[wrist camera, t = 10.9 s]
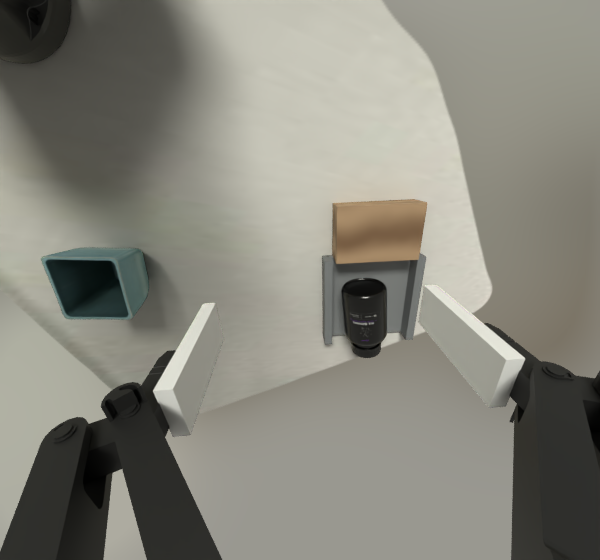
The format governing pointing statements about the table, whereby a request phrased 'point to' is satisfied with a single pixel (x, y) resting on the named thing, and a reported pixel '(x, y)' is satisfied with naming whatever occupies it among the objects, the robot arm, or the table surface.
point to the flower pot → (98, 282)
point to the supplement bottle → (365, 315)
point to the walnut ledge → (377, 231)
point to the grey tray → (394, 274)
